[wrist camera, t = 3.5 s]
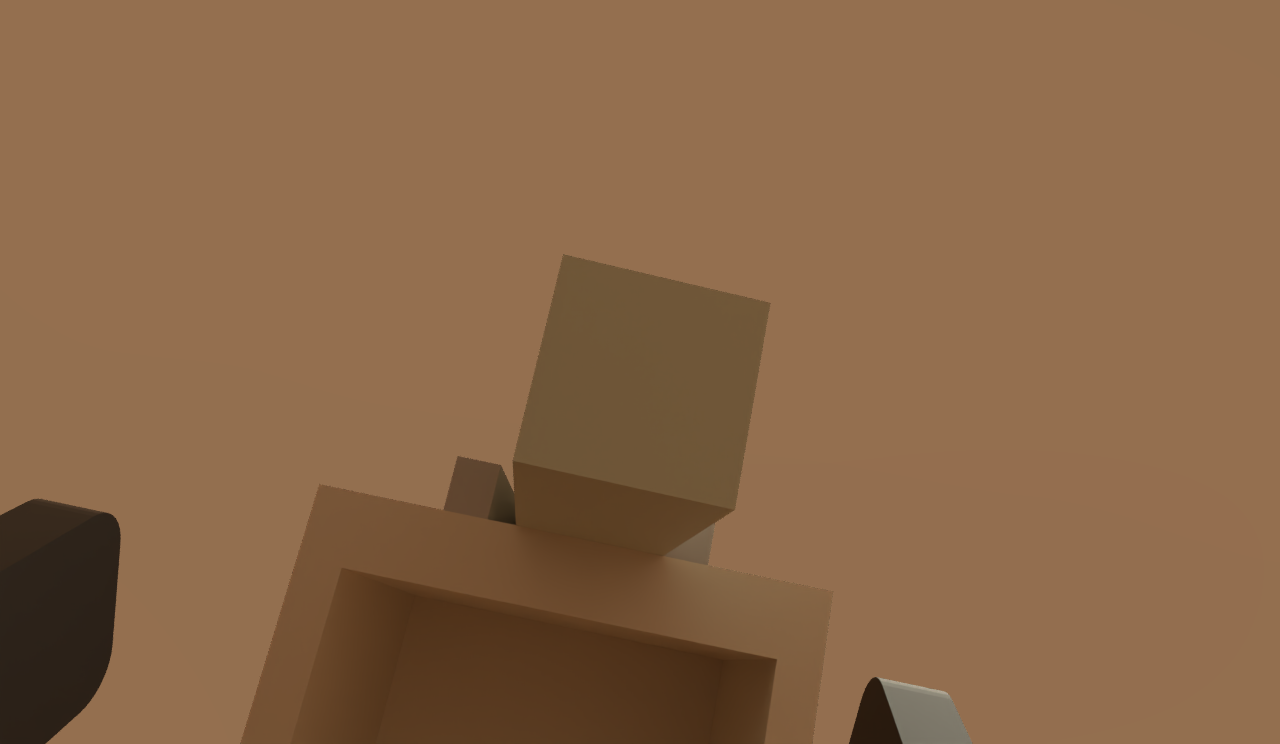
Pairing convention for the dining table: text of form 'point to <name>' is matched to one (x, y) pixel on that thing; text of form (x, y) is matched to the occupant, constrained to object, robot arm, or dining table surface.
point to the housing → (526, 634)
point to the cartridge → (637, 408)
